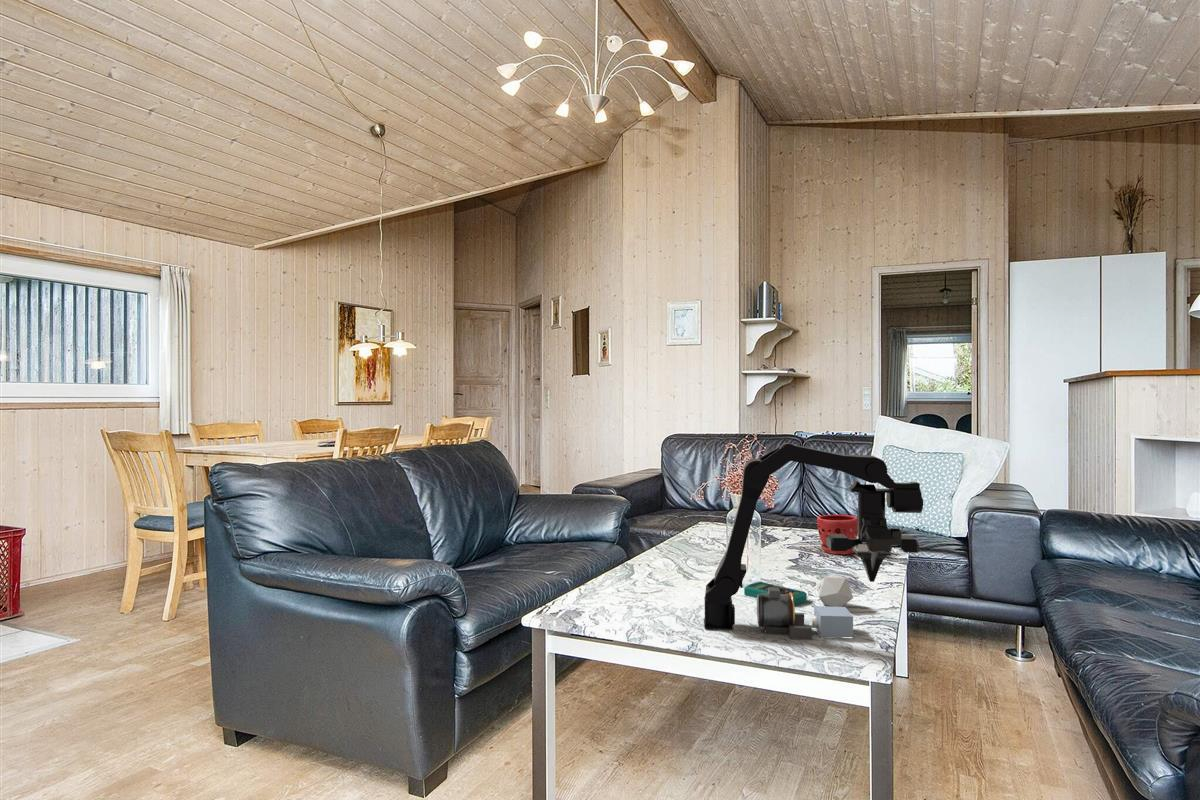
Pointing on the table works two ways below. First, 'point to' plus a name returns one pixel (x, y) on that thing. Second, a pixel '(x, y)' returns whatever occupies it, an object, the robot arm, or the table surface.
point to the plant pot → (837, 529)
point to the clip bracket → (800, 629)
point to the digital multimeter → (763, 587)
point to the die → (834, 591)
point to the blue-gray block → (832, 621)
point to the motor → (775, 611)
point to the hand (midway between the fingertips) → (871, 581)
